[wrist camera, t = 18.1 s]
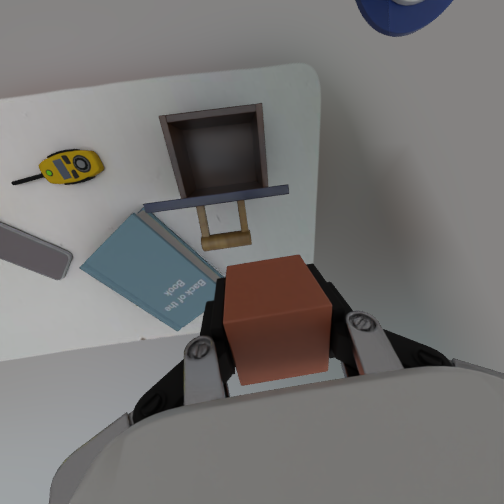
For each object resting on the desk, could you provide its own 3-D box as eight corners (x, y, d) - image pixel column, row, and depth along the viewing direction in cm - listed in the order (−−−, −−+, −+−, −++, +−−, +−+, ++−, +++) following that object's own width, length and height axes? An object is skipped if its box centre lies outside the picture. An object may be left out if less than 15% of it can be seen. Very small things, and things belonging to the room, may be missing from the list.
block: (226, 265, 11) (222, 323, 8) (299, 253, 12) (333, 304, 8) (238, 319, 13) (241, 386, 10) (301, 308, 14) (328, 371, 10)
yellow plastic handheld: (103, 176, 32) (16, 199, 32) (109, 175, 33) (27, 197, 34) (84, 143, 29) (-8, 168, 30) (92, 144, 31) (5, 168, 32)
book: (227, 280, 45) (227, 294, 40) (180, 317, 49) (174, 333, 44) (144, 206, 36) (132, 213, 32) (93, 258, 40) (76, 270, 35)
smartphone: (60, 282, 40) (-33, 246, 35) (64, 279, 41) (-27, 244, 36) (70, 255, 38) (-28, 213, 33) (74, 253, 39) (-22, 212, 34)
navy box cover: (142, 203, 17) (159, 263, 18) (288, 184, 17) (293, 244, 18) (181, 201, 27) (189, 238, 29) (269, 189, 28) (272, 227, 29)
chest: (177, 126, 31) (158, 115, 23) (254, 116, 31) (262, 103, 24) (193, 193, 36) (182, 204, 28) (261, 184, 36) (268, 192, 28)
